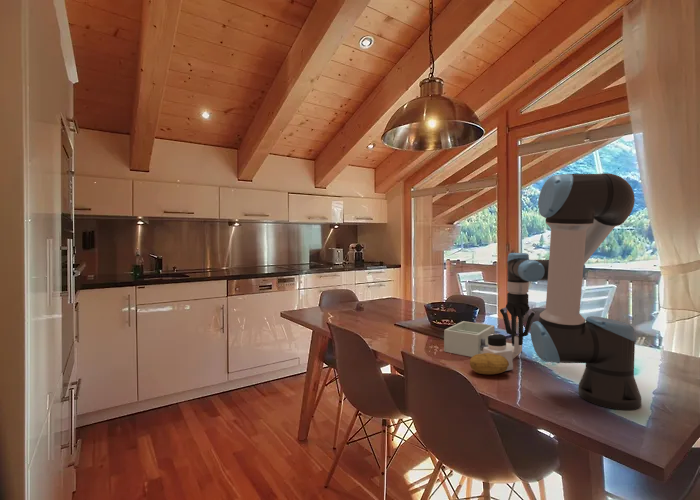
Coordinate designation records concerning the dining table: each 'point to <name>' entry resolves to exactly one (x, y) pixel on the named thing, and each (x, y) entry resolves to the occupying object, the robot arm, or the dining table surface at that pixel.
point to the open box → (467, 338)
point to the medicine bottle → (499, 348)
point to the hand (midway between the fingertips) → (517, 352)
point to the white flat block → (509, 346)
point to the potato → (488, 363)
